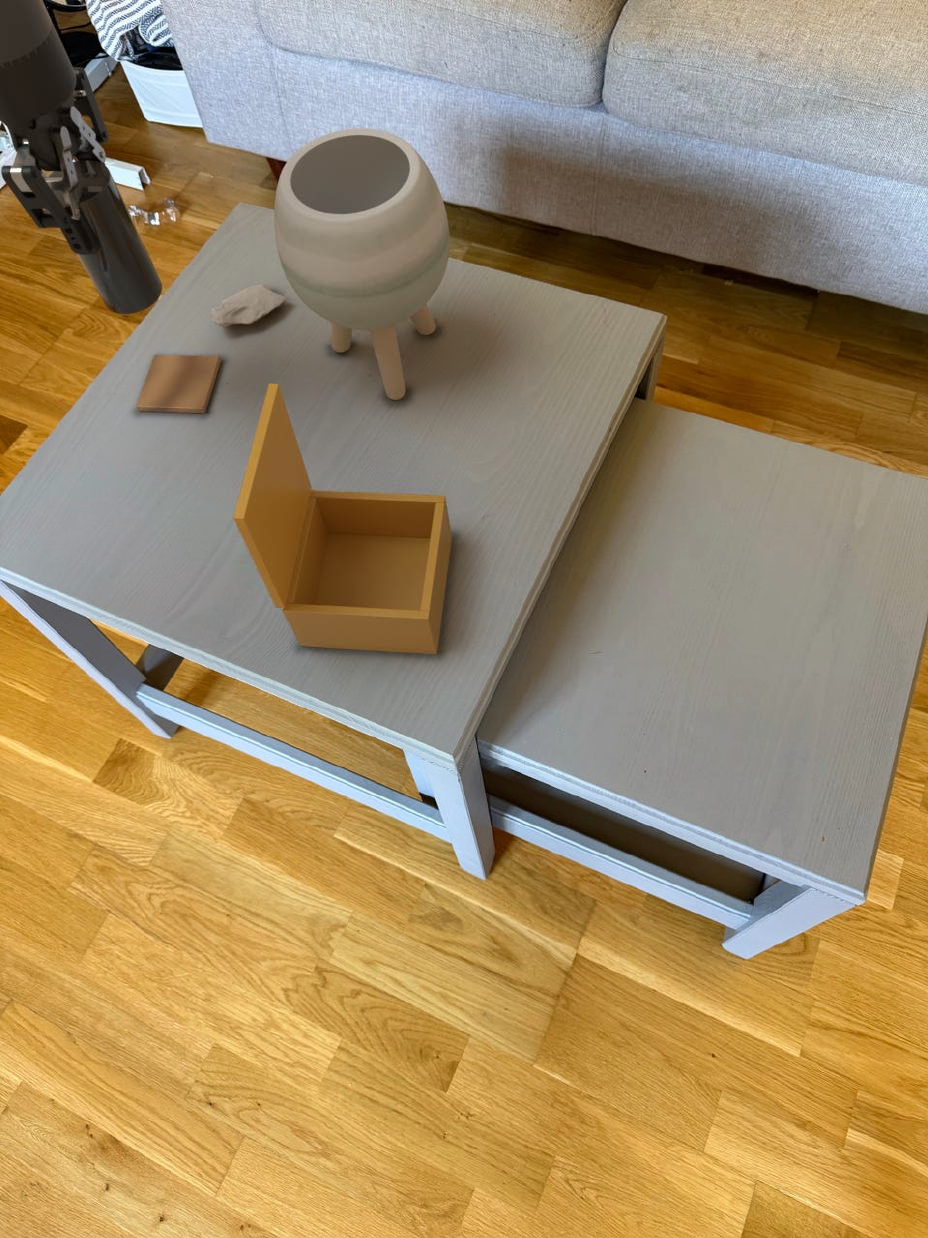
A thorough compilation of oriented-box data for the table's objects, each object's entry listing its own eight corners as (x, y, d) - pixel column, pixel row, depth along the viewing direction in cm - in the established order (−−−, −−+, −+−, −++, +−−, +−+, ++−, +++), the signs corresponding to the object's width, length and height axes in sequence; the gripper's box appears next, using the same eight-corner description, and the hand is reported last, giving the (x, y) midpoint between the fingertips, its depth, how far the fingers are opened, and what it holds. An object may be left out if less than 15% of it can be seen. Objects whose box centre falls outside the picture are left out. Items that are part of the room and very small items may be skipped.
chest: (452, 536, 87) (445, 495, 81) (436, 654, 81) (428, 619, 75) (324, 530, 88) (308, 489, 82) (300, 646, 83) (281, 611, 77)
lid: (278, 383, 70) (268, 382, 70) (243, 518, 64) (232, 518, 64) (312, 486, 82) (303, 486, 82) (285, 608, 76) (275, 608, 76)
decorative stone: (227, 347, 101) (219, 326, 98) (206, 317, 103) (197, 297, 101) (295, 312, 103) (288, 292, 100) (272, 284, 105) (265, 263, 102)
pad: (138, 411, 98) (135, 406, 97) (156, 359, 101) (154, 354, 100) (205, 413, 97) (202, 408, 96) (221, 360, 100) (219, 355, 99)
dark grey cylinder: (95, 313, 86) (33, 204, 76) (113, 271, 89) (55, 159, 78) (153, 314, 86) (99, 204, 75) (169, 271, 88) (118, 159, 78)
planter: (409, 436, 93) (373, 259, 73) (286, 381, 98) (221, 201, 78) (490, 333, 99) (476, 143, 79) (369, 286, 104) (328, 96, 84)
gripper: (-15, -23, 70) (83, 174, 84) (-87, 91, 63) (33, 283, 78) (77, -26, 69) (159, 174, 84) (14, 90, 62) (116, 284, 77)
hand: (98, 226), depth 81 cm, fingers closed on dark grey cylinder, 6 cm apart
